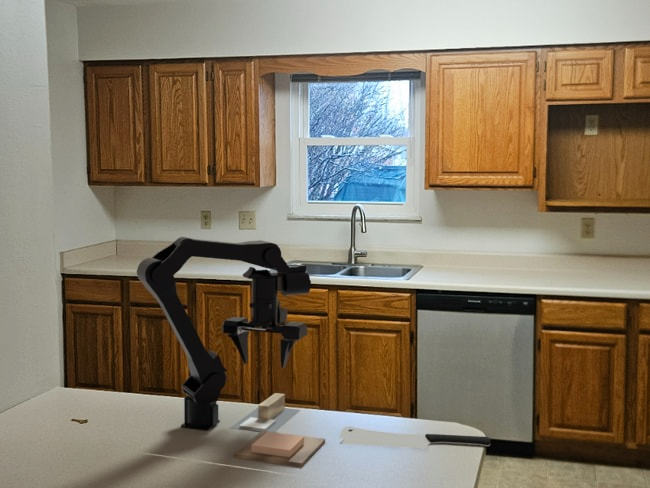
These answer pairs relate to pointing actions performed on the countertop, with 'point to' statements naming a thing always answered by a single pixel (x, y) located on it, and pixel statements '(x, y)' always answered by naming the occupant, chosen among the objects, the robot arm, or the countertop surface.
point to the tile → (277, 444)
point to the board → (296, 459)
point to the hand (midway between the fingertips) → (264, 365)
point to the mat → (279, 418)
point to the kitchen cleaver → (405, 439)
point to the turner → (266, 413)
